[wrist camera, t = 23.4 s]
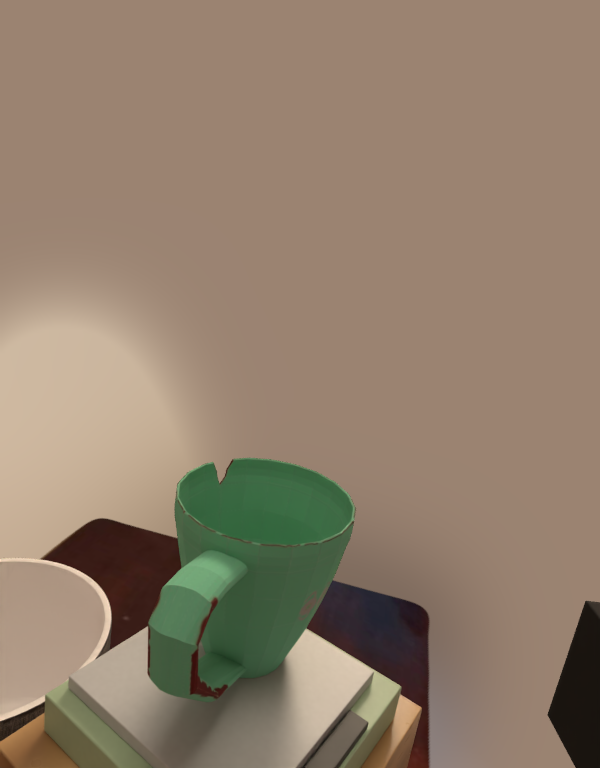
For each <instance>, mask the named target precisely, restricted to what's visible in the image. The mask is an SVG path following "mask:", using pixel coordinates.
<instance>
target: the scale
mask: <svg viewBox="0 0 600 768" xmlns="http://www.w3.org/2000/svg"><path fill="white" fill-rule="evenodd" d="M205 654H206V653H205V651H204V648H203V645H202V642H201V640H200V643H199V651H198V660H199V659H200V658H201V657H203V656H204V655H205ZM147 669H148V627H146V628H145V629H143V630H142V631H140V632H138V633H137V634H135V635H134V636H132V637H130V638H129V639H127V640H126V641H124V642H122V643H121V644H119V645H118V646H116V647H114V648H113V649H111V650H110V651H108V652H106V653H105V654H103V655H102V656H100V657H98V658H97V659H95V660H94V661H92V662H90V663H89V664H87V665H86V666H84V667H82V668H81V669H79V670H78V671H76V672H74V673H73V674H71V675H70V676H69V680H67V681H66V682H64V683H63V684H61V685H59V686H58V687H56V688H55V689H53V690H52V691H50V692H48V693H47V694H46V695H45V716H44V731H45V732H46V733H47V734H48V735H49V736H50V737H51V738H52V739H53V740H54V741H55V742H56V743H57V744H58V745H59V746H60V747H61V748H62V749H63V750H64V752H65V753H66V754H67V755H68V756H69V757H70V758H71V759H72V760H73V761H74V762H75V763H76V764H77V765H78V766H79V767H80V768H361V766H362V765H363V763H364V762H365V760H366V759H367V757H368V756H369V754H370V753H371V751H372V750H373V749H374V747H375V746H376V744H377V743H378V741H379V740H380V738H381V737H382V735H383V734H384V732H385V731H386V729H387V728H388V726H389V725H390V723H391V722H392V721H393V719H394V716H395V712H396V708H397V704H398V700H399V696H400V692H401V686H400V685H398V684H396V683H395V682H393V681H391V680H390V679H388V678H386V677H385V676H383V675H382V674H380V673H378V672H377V671H375V670H373V669H372V668H370V667H368V666H367V665H365V664H364V663H362V662H360V661H359V660H357V659H355V658H354V657H352V656H350V655H349V654H347V653H346V652H344V651H342V650H341V649H339V648H337V647H336V646H334V645H332V644H331V643H329V642H328V641H326V640H324V639H323V638H321V637H319V636H318V635H316V634H314V633H313V632H311V631H310V630H308V629H305V631H304V632H303V634H302V635H301V637H300V638H299V639H298V641H297V642H296V644H295V645H294V646H293V648H292V649H291V650H290V652H289V653H288V655H287V656H286V657H285V659H284V660H283V662H282V663H281V664H280V665H279V667H278V668H277V669H276V670H274V671H273V672H271V673H269V674H268V675H265V676H262V677H258V678H238V679H237V680H236V681H235V682H234V683H233V684H232V685H231V686H230V687H229V688H228V689H227V690H226V691H225V692H224V693H223V694H222V695H221V696H220V697H219V698H218V699H217V700H215V701H213V702H202V701H197V700H192V699H187V698H181V697H176V696H173V695H170V694H167V693H165V692H163V691H161V690H159V689H158V687H157V686H156V685H155V684H154V683H153V682H152V680H151V679H150V678H149V676H148V674H147Z"/></svg>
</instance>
